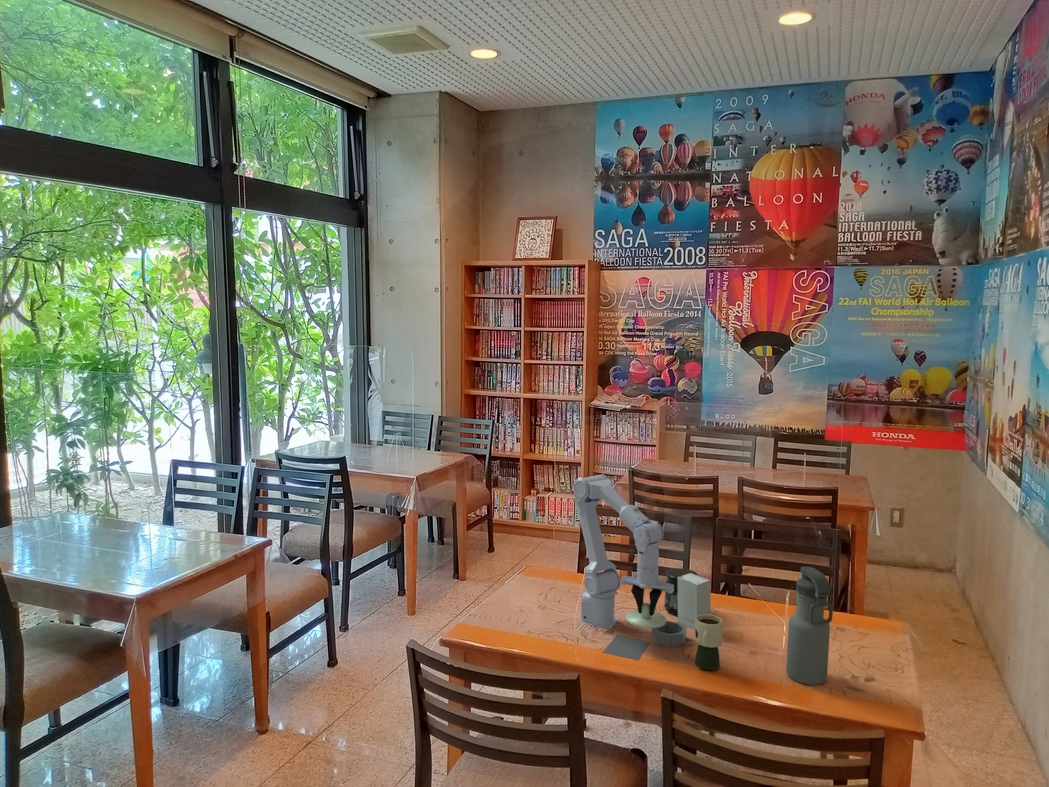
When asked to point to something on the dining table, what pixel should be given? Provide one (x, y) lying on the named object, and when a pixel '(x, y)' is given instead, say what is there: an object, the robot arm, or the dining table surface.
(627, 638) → the mat
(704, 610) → the skincare box
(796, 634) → the water bottle
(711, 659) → the character mug
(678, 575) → the supplement container
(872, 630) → the dining table surface
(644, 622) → the lid
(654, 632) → the bowl
